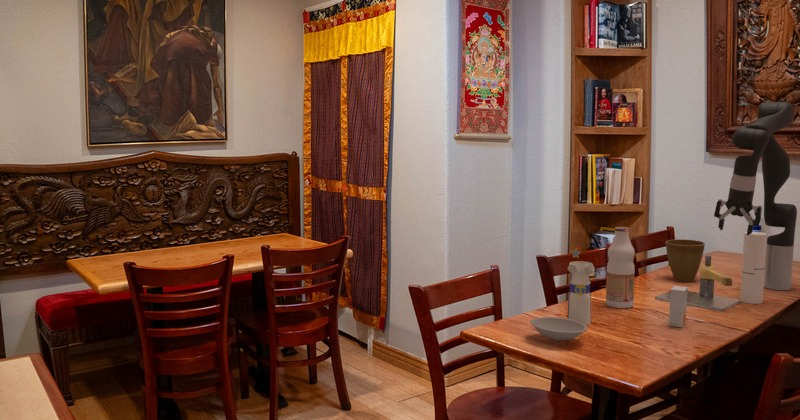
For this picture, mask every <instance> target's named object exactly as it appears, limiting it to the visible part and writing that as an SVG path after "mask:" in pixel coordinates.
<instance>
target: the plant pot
mask: <svg viewBox="0 0 800 420" xmlns="http://www.w3.org/2000/svg"><path fill="white" fill-rule="evenodd" d="M705 244H706V243H705V242H704V241H701V240H695V239H684V238H683V239H680V238H679V239H669V240H666V241H665V249H666V255H667V260H668V263H669V264H668V265H669V267H670V271H671V274H672V277H673V280H674V281H676V282H679V283H680V282H681V283H692V282H694V281H695V278H696V276H697V274H698V271H699V269H700V267H701V263H702V260H703V255H704V251H705Z"/></svg>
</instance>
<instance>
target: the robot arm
mask: <svg viewBox="0 0 800 420" xmlns="http://www.w3.org/2000/svg"><path fill="white" fill-rule="evenodd" d="M794 115H795V109H794V106H793V104H792V103H790V102H788V101H764V102H761V103H760V104H759V105H758V108H757V119H755V120H754V121H753V122H752V123H750V124H745V125H742V126H740V127H738V128H737V129H736V130H735V131H734V133H733V135H732V144H733V145H734V147H735V148H737V149H740V150H749V151H753V152H752V153H751V154H750V155H747V154H746V155H738V156H737V157H736V158H735V161H734V166H733V172H732V176H731V178H730V183H729V191H728V196H727V200H723V199H717V201H716V206H715V210H714V214H713V216H714V217H715V218H717V219H719V220H718V225H717V228H718V229H719V230H720V231H723V229H724V226H725V218H726V217H728V216H729V215H732V216H737V217H740V218H743V217H744V219H745V220H746V221H747V223H748V226H747V230H746V232H747V235H749V234H751V233H752V232H754V226H755V225H760V223H761V220H762V211H763V220H764V224H765V225H766V226H768V227H772V228H773V227H774V228H784V231H782V232H780V233H778V234H773V235H770V236H767V237H766V253H765V270H764V287H763V288H766V289H769V290H775V291H789V290H791V289H792V282H793V281H792V279H793V266H794V265H793V263H794V261H793V260H794V246H795V245H794V244H795V237H796V236H795V234H796V226H797V225H796V223H797V216H798V209H797V207H796V205H795V204H792V203H779V202H778V203H777V202H775V199H776V196H777V194H778V193H779V191H780V190H781V188H783V186H784V185H785V183H786V182H787V181H788V179H789V178H790V176H791V175H790V174H791V159H790V156H789V154H788V153H787V151H786V150H785V148H784V147H783V146H782V145H781V144H780V143H779V142H778V140H777V139H776V137H775V136H774V133H777V132H778V131H780V130H782V129H784V128H788V127H789V126H790V125H791V124H792V123H793V120H794ZM760 161H761V171H762V180H763V207H762V205H758V206H755V205H753V202H754V201H753V200H754V195H755V194H754V193H755V189H756V183H757V173H758V168H759V165H760ZM724 205H725V207H726V209H727V210H726V211H725V212H723V213H721V212H720V211H721V208H722V207H724ZM752 210H753V211H754V214H755V219H753V216H752V215H751V214H752V213H751V212H752Z"/></svg>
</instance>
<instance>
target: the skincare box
mask: <svg viewBox="0 0 800 420" xmlns="http://www.w3.org/2000/svg"><path fill="white" fill-rule="evenodd" d="M670 291H671V293H670V302H669V314H668V315H669V316H668V317H669V318H668V326H670V327H675V328H676V327H677V328H683V327H684V325H686V322H687V321H686V320H687V306H688V305H687V291H688V287H687V286H678V285H674V286H672V288H671V289H670Z"/></svg>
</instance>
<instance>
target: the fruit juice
mask: <svg viewBox="0 0 800 420" xmlns="http://www.w3.org/2000/svg"><path fill="white" fill-rule="evenodd" d="M614 233H615V234H614V237H613V240H612V242H611V244H610V245H609V247H608V249H607V257H608V262H607V265H606V281H605V286H606V288H605V305H607V306H608V307H610V308H614V309H615V308H617V309H630V308H632V307H633V306H634V301H635V300H634V295H635V273H636V271H635V269H636V268H635V267H636V266H635V264H634V259H635V254H636V252H635V248H634V247H633V244H632V242H631V239H630V236H629V233H630V228H629V227H626V226H615V227H614Z"/></svg>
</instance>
